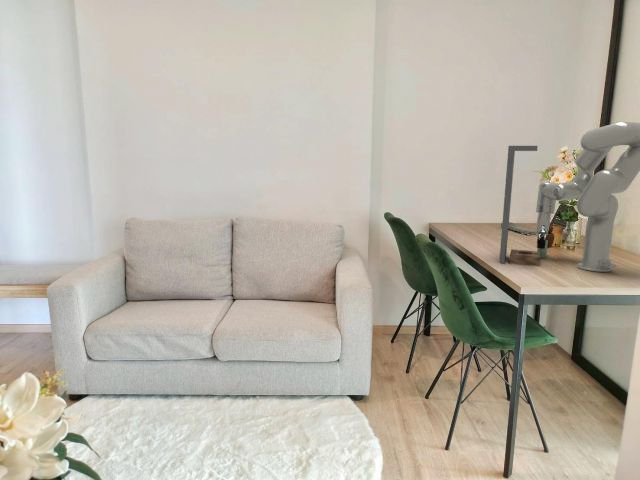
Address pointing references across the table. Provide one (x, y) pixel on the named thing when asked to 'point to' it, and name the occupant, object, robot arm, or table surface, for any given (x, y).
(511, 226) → the elongated rock
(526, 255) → the socket block
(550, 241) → the wooden figurine
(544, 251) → the peg
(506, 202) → the gallows post stand
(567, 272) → the table surface
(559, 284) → the table surface
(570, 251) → the table surface
